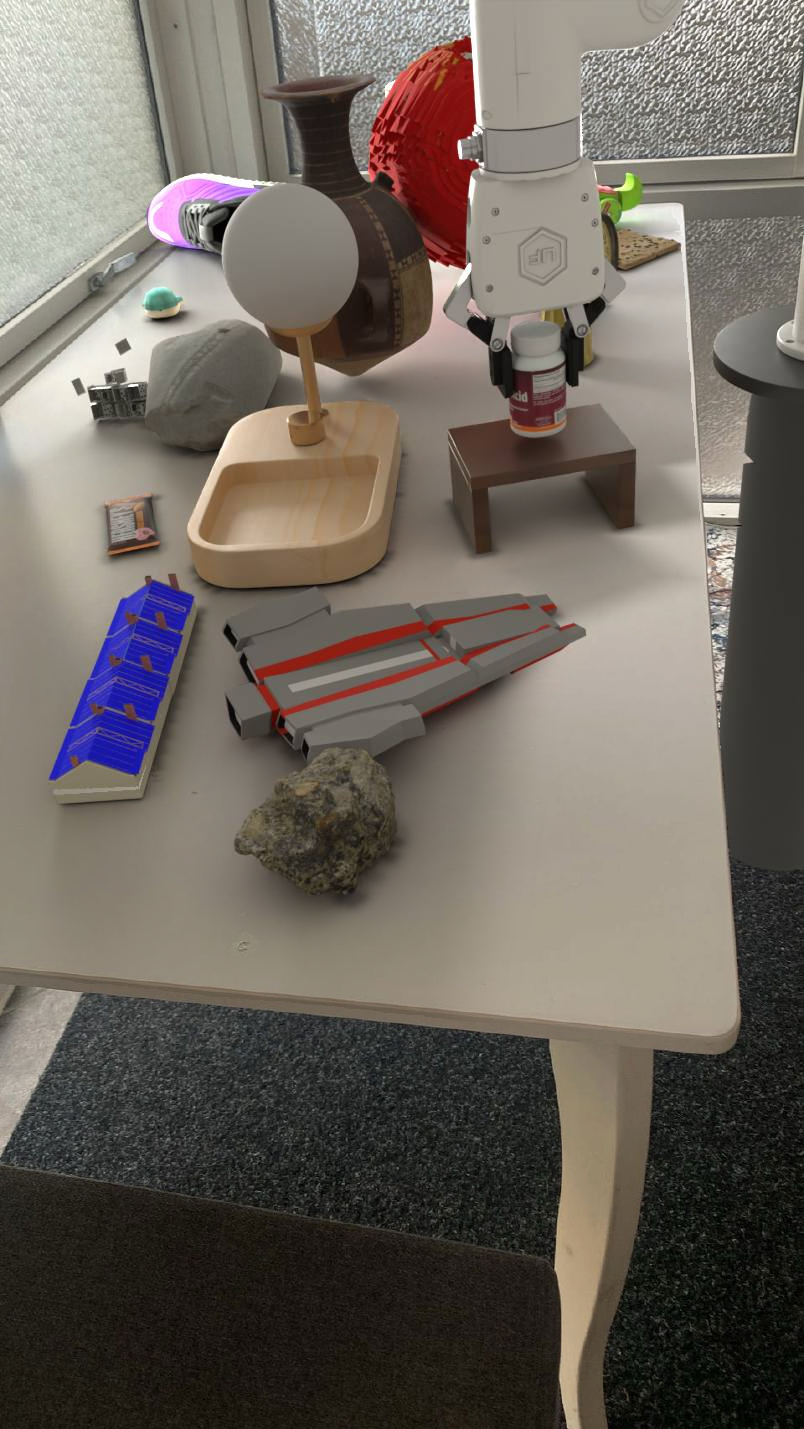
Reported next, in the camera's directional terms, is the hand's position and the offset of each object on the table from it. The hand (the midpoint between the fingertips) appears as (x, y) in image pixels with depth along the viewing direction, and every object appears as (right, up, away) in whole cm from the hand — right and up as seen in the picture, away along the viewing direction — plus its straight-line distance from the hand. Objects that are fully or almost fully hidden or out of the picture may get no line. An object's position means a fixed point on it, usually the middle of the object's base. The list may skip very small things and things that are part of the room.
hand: (537, 384), depth 92 cm
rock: (-17, -38, -29) cm, 50 cm away
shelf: (+1, -9, +7) cm, 12 cm away
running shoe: (-37, +53, +84) cm, 106 cm away
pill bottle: (0, -3, +2) cm, 4 cm away
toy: (-5, +42, +49) cm, 65 cm away
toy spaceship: (-11, -21, -13) cm, 27 cm away
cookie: (+19, +36, +63) cm, 75 cm away
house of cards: (-44, +10, +31) cm, 55 cm away
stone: (-40, +10, +32) cm, 52 cm away
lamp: (-20, -6, +15) cm, 26 cm away
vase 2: (+8, +13, +34) cm, 37 cm away
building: (-31, -26, -8) cm, 42 cm away
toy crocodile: (+15, +45, +74) cm, 88 cm away
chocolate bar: (-37, -10, +14) cm, 41 cm away
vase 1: (-16, +12, +38) cm, 43 cm away
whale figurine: (-44, +29, +63) cm, 82 cm away
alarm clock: (+11, +21, +44) cm, 50 cm away
